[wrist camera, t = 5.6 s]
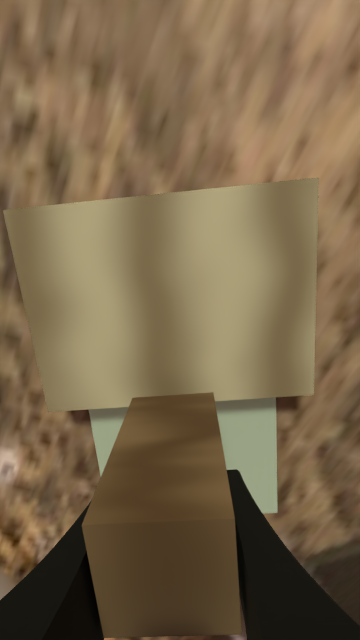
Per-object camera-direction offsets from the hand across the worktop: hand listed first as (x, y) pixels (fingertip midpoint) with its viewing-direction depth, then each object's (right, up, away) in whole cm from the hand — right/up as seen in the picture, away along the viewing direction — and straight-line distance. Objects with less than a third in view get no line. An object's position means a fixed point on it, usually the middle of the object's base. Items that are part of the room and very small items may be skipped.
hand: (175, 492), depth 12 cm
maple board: (0, +8, +6) cm, 10 cm away
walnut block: (0, +1, +3) cm, 3 cm away
